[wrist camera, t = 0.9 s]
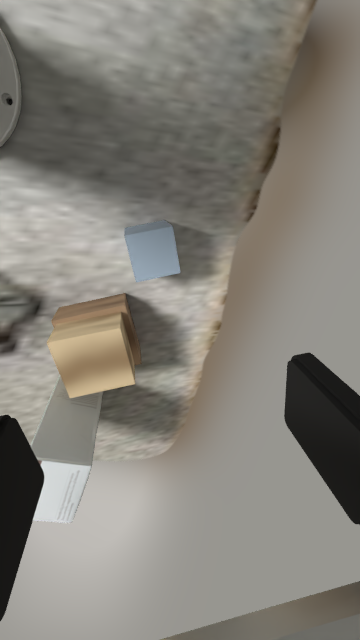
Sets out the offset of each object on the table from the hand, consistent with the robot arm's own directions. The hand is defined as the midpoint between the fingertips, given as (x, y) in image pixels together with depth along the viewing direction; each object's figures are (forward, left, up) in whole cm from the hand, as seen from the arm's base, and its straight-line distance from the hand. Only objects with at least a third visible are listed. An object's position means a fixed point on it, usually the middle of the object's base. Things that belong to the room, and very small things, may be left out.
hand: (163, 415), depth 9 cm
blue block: (-1, +2, -25) cm, 25 cm away
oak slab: (+8, -7, -21) cm, 24 cm away
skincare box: (+16, -12, -25) cm, 32 cm away
